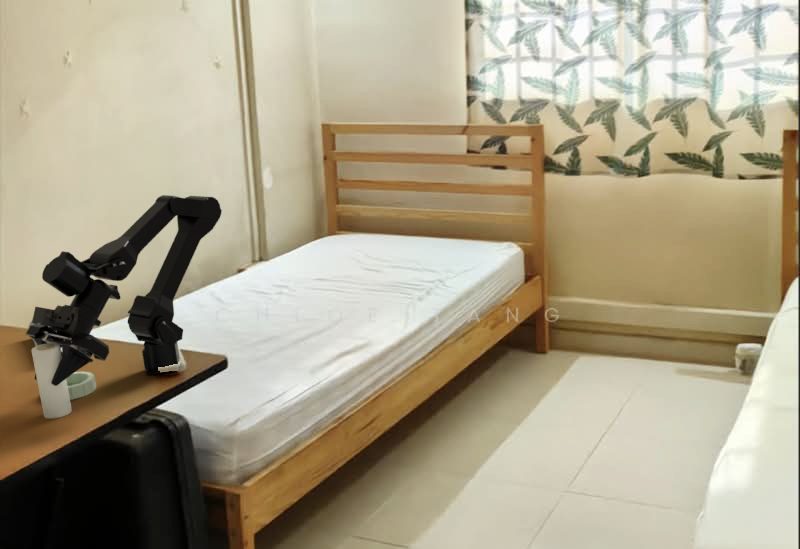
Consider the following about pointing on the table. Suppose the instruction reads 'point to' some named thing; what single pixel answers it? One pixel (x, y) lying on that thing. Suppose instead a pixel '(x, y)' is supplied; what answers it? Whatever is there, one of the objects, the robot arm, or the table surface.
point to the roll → (45, 368)
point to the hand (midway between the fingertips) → (45, 382)
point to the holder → (80, 384)
